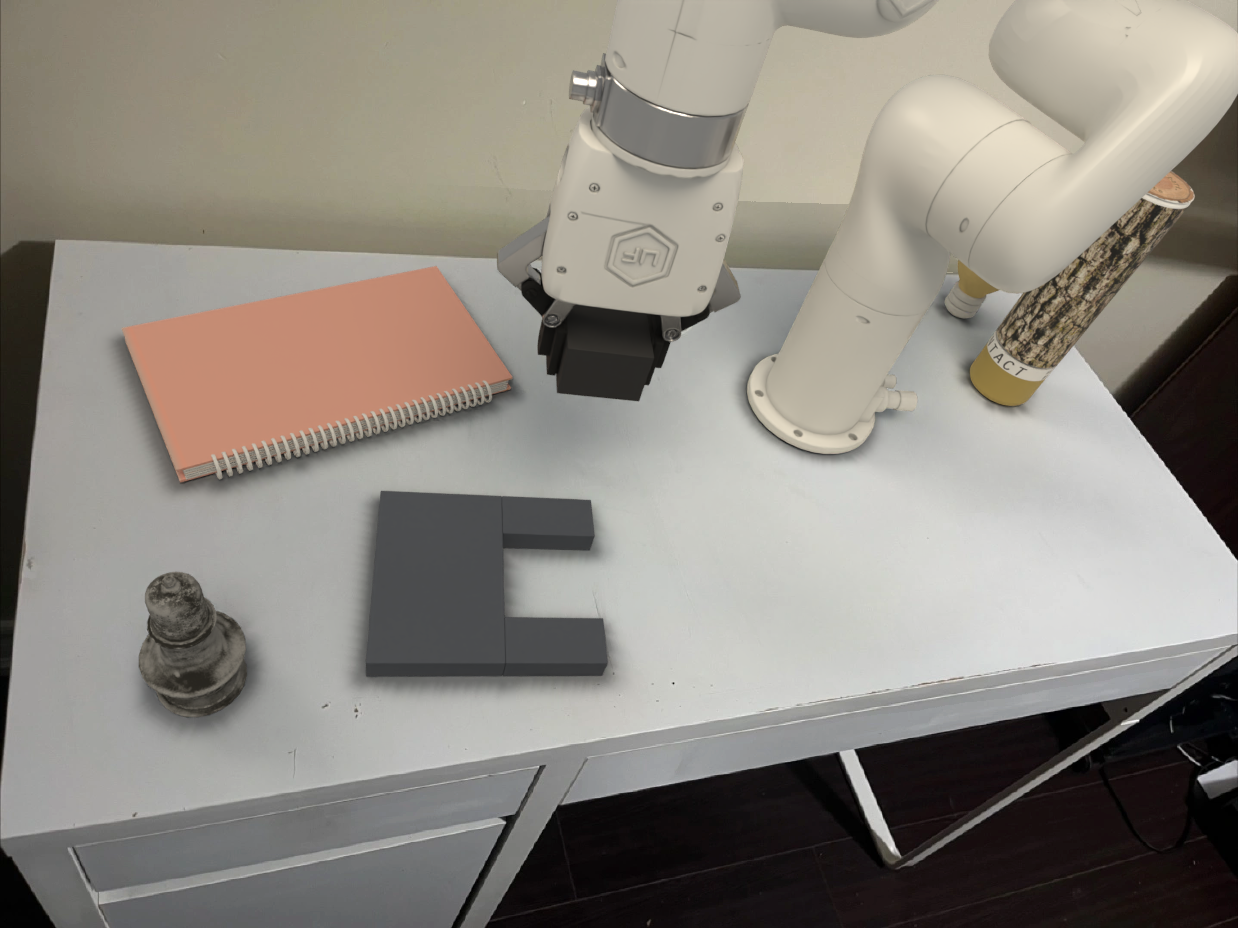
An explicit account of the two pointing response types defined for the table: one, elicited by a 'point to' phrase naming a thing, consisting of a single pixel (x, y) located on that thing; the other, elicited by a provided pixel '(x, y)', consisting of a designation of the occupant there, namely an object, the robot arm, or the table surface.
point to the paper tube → (1074, 298)
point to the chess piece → (190, 648)
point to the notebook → (310, 369)
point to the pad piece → (605, 354)
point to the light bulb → (967, 293)
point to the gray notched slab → (472, 588)
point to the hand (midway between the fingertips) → (597, 363)
